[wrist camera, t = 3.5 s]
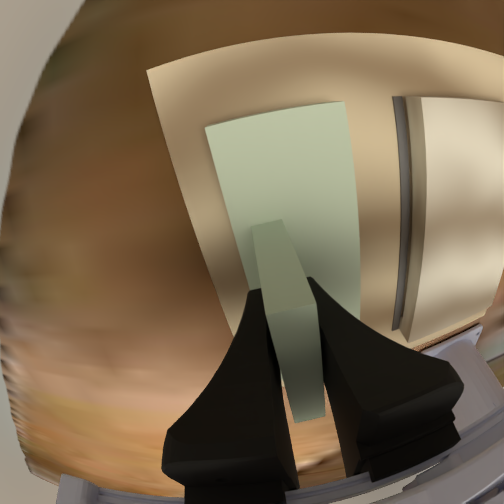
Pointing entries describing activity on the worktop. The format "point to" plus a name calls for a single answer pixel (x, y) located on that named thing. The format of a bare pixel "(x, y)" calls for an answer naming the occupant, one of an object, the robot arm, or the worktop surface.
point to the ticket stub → (293, 227)
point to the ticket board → (364, 164)
